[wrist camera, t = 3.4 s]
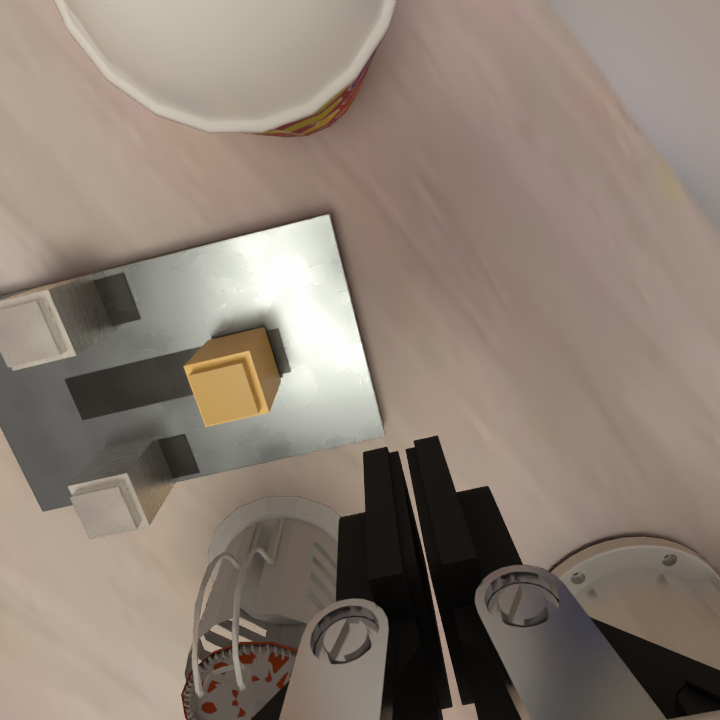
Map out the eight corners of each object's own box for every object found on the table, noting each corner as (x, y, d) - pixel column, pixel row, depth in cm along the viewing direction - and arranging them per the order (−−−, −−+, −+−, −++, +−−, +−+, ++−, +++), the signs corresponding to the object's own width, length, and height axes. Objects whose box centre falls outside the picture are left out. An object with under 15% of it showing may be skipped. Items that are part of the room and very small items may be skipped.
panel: (330, 212, 27) (322, 221, 21) (383, 424, 31) (389, 480, 25) (-37, 305, 28) (-137, 336, 23) (56, 497, 32) (-10, 566, 26)
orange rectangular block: (264, 326, 27) (246, 355, 23) (281, 381, 28) (267, 418, 24) (207, 340, 27) (179, 370, 23) (226, 393, 28) (201, 433, 24)
